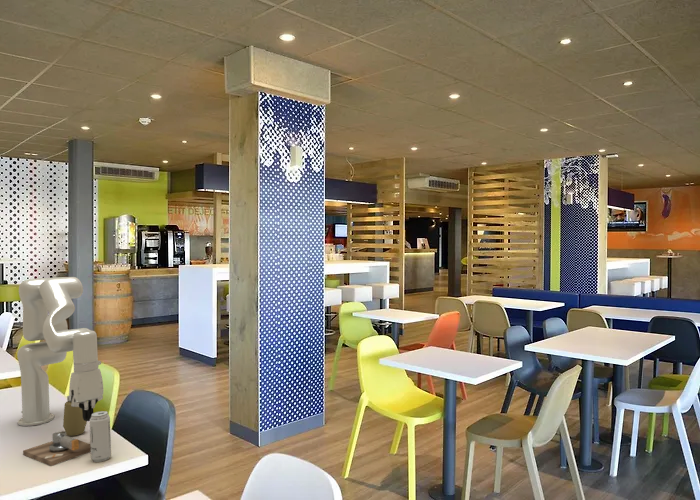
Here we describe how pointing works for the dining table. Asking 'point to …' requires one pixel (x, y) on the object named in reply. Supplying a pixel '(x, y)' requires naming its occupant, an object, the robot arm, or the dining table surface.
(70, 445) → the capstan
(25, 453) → the walnut stand
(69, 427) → the squeeze bottle
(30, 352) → the robot arm
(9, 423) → the dining table surface
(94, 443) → the energy drink can
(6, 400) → the dining table surface
